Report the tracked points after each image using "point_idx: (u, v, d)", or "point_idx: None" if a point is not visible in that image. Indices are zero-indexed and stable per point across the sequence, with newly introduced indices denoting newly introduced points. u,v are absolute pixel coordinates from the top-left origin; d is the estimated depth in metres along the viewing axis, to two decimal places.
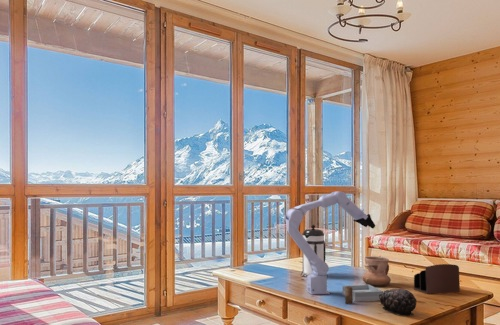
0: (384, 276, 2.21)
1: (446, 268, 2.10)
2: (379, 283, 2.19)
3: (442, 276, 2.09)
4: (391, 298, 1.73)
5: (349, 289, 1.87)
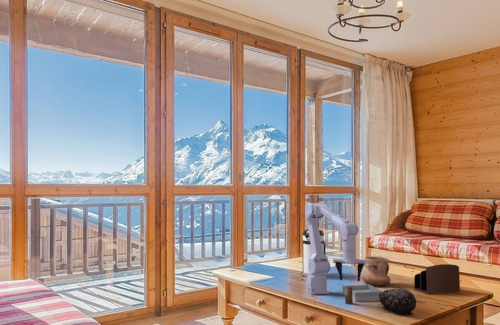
0: (384, 276, 2.21)
1: (446, 268, 2.10)
2: (379, 283, 2.19)
3: (442, 277, 2.08)
4: (391, 298, 1.74)
5: (349, 289, 1.87)
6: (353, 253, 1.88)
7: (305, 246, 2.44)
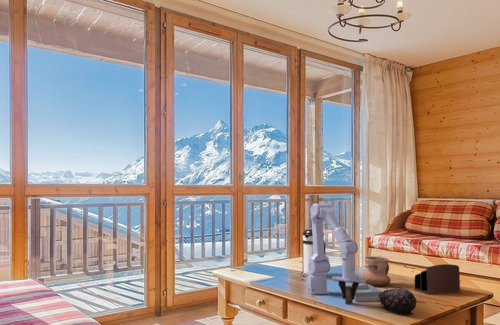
0: (384, 276, 2.21)
1: (447, 268, 2.09)
2: (379, 283, 2.19)
3: (443, 277, 2.08)
4: (391, 298, 1.74)
5: (349, 289, 1.87)
6: (352, 272, 1.87)
7: (305, 246, 2.44)
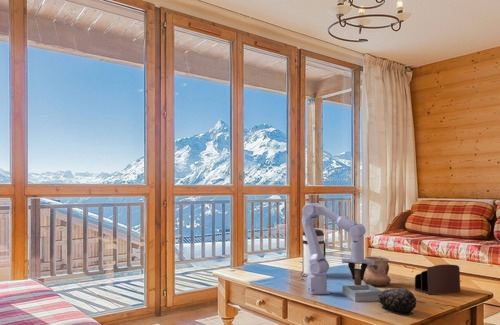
0: (384, 276, 2.21)
1: (447, 268, 2.09)
2: (379, 283, 2.19)
3: (443, 277, 2.08)
4: (391, 298, 1.74)
5: (358, 271, 1.95)
6: (361, 254, 1.95)
7: (305, 246, 2.44)
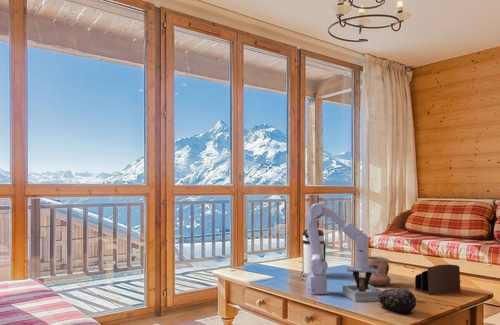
0: (384, 276, 2.21)
1: (447, 268, 2.09)
2: (379, 283, 2.19)
3: (443, 277, 2.08)
4: (391, 298, 1.74)
5: (362, 279, 1.98)
6: (366, 262, 1.98)
7: (305, 246, 2.44)
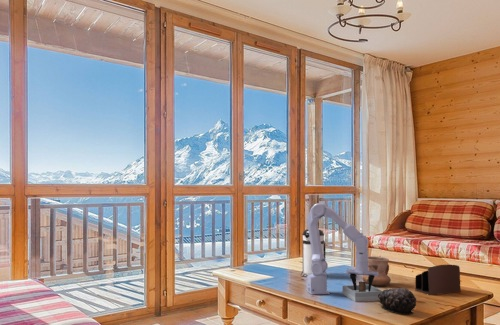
0: (384, 276, 2.21)
1: (447, 268, 2.09)
2: (379, 283, 2.19)
3: (444, 277, 2.07)
4: (392, 298, 1.74)
5: (362, 284, 1.98)
6: (366, 265, 1.98)
7: (305, 246, 2.44)
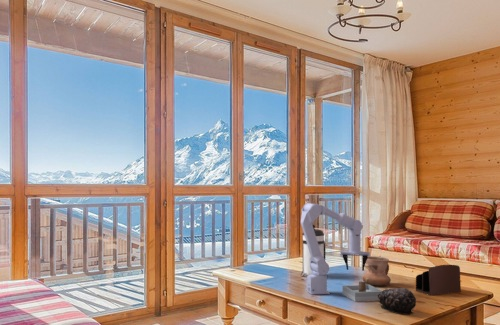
0: (384, 276, 2.21)
1: (448, 269, 2.09)
2: (379, 283, 2.19)
3: (444, 277, 2.07)
4: (392, 297, 1.75)
5: (362, 284, 1.98)
6: (359, 246, 2.13)
7: (305, 246, 2.44)
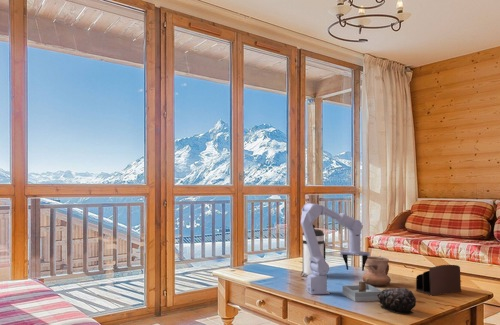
0: (384, 276, 2.21)
1: (448, 269, 2.08)
2: (379, 283, 2.19)
3: (444, 277, 2.07)
4: (392, 297, 1.75)
5: (362, 284, 1.98)
6: (359, 246, 2.13)
7: (305, 246, 2.44)
